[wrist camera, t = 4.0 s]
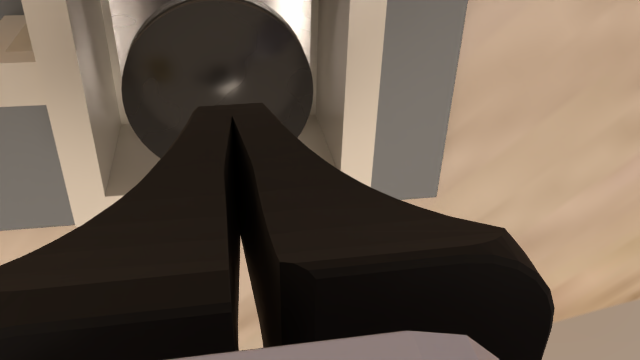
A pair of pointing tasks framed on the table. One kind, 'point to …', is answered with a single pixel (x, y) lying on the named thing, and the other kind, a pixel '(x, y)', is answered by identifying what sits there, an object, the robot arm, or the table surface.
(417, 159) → the slate mat
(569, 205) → the table surface
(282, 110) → the plunger
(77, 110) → the press body
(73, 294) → the robot arm
